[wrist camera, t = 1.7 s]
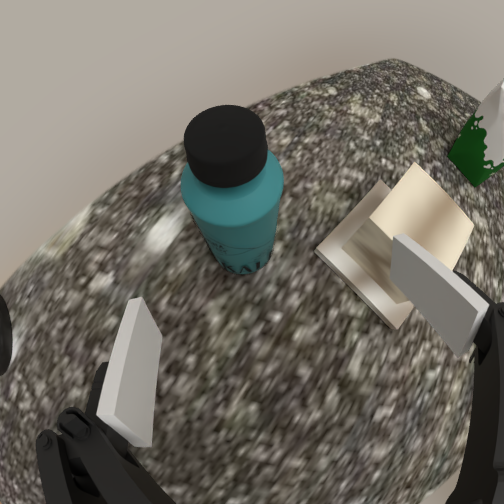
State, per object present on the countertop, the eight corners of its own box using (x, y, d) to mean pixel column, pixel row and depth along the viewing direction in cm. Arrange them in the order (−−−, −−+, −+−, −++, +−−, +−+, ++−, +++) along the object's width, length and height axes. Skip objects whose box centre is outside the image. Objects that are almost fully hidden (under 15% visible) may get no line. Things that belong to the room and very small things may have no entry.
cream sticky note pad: (313, 251, 31) (336, 216, 21) (376, 185, 33) (407, 139, 23) (391, 329, 28) (441, 325, 18) (442, 253, 30) (490, 226, 20)
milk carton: (476, 194, 32) (551, 128, 13) (440, 154, 34) (503, 73, 15) (488, 170, 34) (549, 109, 15) (455, 134, 36) (508, 63, 17)
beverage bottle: (232, 214, 32) (202, 74, 13) (284, 239, 31) (315, 108, 12) (203, 262, 31) (126, 157, 11) (256, 290, 30) (250, 213, 10)
